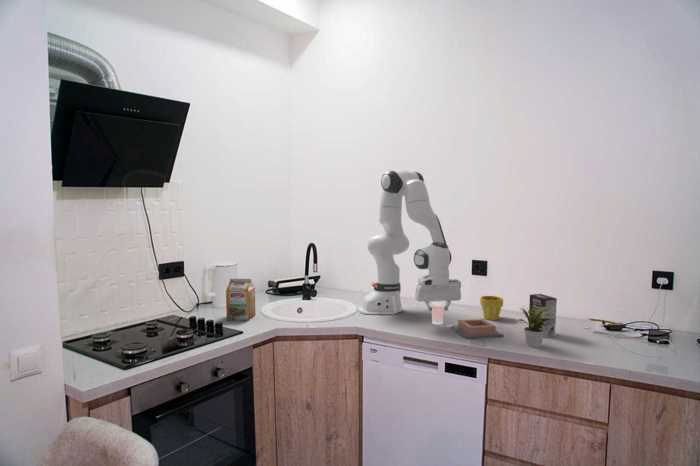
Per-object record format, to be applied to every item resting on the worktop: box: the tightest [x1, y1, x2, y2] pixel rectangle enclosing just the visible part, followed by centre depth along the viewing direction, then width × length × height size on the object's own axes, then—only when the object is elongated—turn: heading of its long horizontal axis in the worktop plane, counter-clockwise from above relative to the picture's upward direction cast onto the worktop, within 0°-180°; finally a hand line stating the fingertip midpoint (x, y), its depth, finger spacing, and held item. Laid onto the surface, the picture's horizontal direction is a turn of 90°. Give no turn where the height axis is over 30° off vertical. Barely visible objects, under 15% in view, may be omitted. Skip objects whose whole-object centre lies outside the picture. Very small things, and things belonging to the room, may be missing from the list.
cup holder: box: [450, 318, 504, 340], centre depth 195 cm, size 16×16×4 cm
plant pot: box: [479, 295, 504, 321], centre depth 217 cm, size 10×10×10 cm
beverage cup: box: [430, 301, 446, 326], centre depth 202 cm, size 6×6×14 cm
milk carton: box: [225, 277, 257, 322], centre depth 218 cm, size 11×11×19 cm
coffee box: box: [528, 293, 558, 338], centre depth 192 cm, size 9×6×16 cm
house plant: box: [517, 304, 552, 348], centre depth 177 cm, size 14×14×16 cm
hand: (437, 310), depth 202 cm, fingers closed on beverage cup, 6 cm apart
